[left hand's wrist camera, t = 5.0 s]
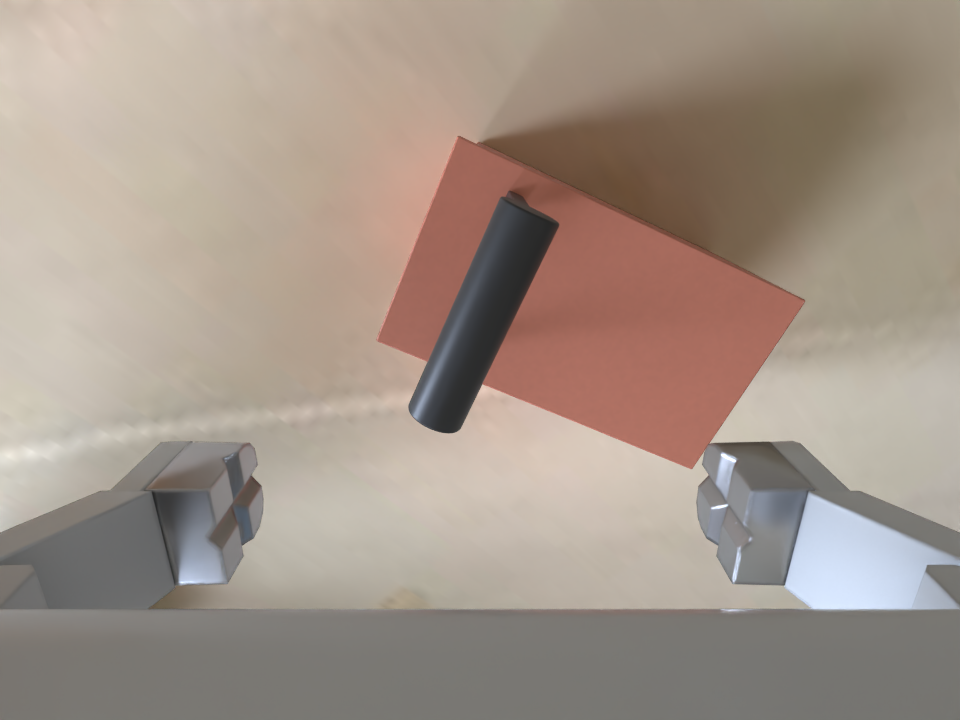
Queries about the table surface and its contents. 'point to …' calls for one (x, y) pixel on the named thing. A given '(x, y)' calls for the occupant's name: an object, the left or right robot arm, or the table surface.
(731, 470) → the left robot arm
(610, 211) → the lid
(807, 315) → the table surface
